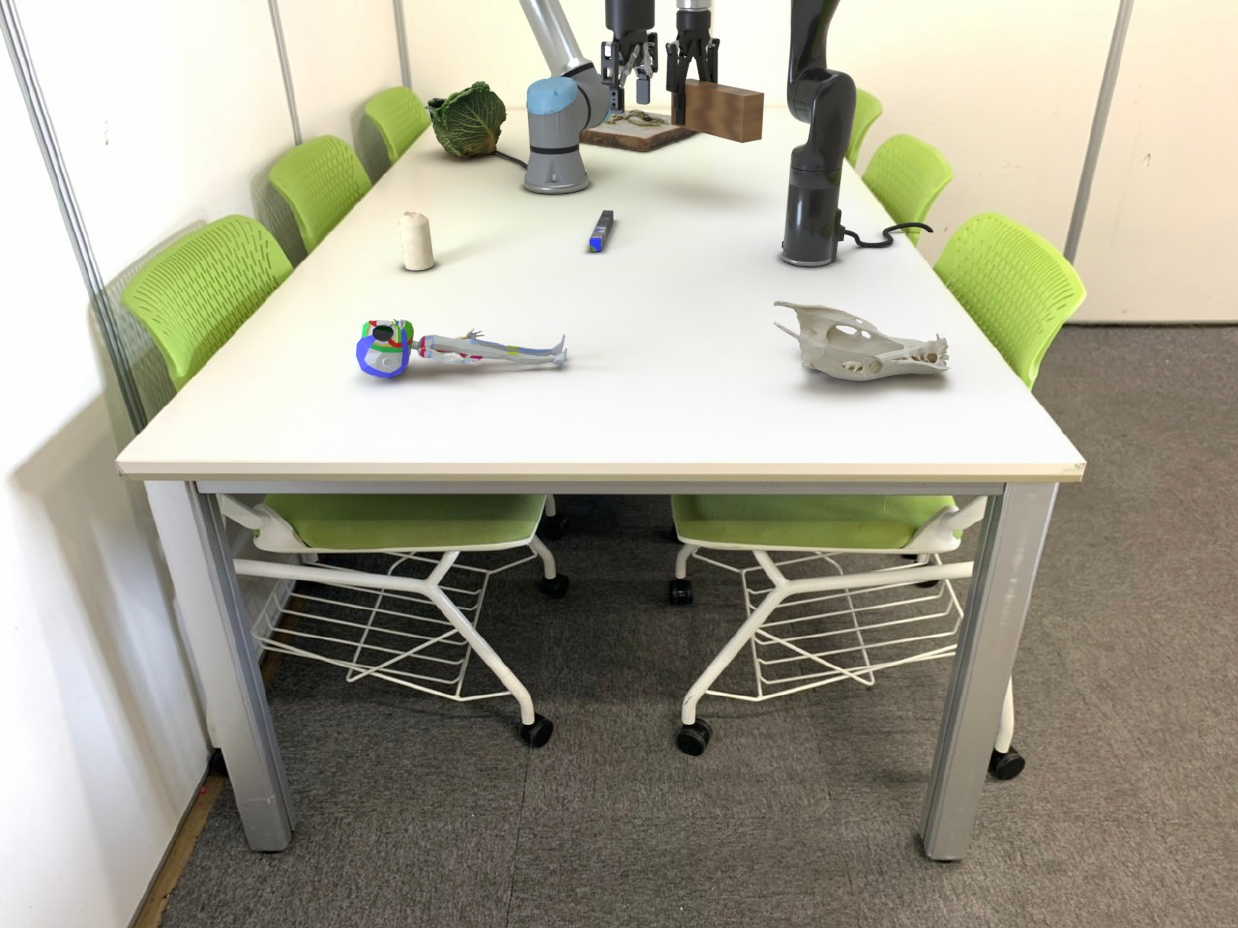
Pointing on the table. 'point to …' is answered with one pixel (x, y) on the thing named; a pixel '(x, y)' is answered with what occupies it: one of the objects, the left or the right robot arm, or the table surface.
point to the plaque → (636, 131)
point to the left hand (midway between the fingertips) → (691, 122)
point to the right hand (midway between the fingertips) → (630, 108)
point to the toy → (435, 349)
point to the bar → (722, 111)
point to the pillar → (601, 230)
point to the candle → (416, 241)
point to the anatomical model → (860, 346)
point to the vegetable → (468, 120)
